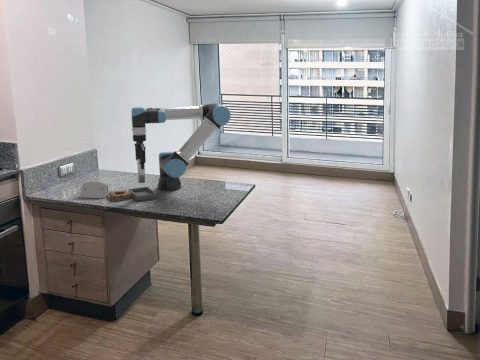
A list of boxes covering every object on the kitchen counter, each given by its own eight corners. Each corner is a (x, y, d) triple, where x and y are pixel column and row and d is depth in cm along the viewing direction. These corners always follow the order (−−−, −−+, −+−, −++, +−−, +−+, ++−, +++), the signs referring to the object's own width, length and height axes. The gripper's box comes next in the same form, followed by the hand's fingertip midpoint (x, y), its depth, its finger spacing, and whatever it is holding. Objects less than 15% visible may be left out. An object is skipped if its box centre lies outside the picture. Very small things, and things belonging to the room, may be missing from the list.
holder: (126, 194, 279) (125, 189, 278) (130, 198, 270) (130, 194, 269) (109, 197, 274) (109, 192, 273) (113, 201, 265) (113, 196, 265)
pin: (144, 181, 276) (142, 158, 272) (146, 182, 273) (144, 159, 269) (137, 181, 274) (136, 158, 271) (139, 183, 271) (138, 160, 267)
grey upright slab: (78, 197, 273) (79, 180, 274) (82, 197, 278) (83, 181, 279) (106, 198, 272) (107, 181, 273) (109, 198, 277) (109, 182, 277)
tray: (147, 191, 286) (147, 186, 285) (157, 198, 271) (157, 193, 270) (128, 193, 280) (128, 189, 280) (137, 201, 265) (137, 196, 264)
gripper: (128, 132, 272) (131, 171, 277) (137, 136, 257) (139, 177, 263) (141, 131, 275) (143, 169, 281) (150, 135, 261) (152, 175, 267)
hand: (141, 173), depth 272 cm, fingers closed on pin, 4 cm apart
